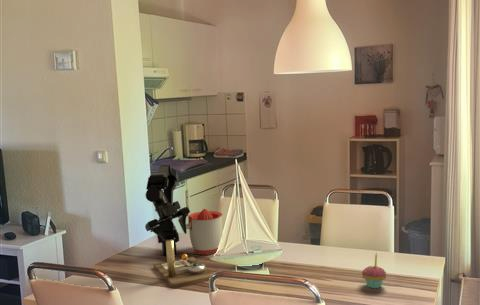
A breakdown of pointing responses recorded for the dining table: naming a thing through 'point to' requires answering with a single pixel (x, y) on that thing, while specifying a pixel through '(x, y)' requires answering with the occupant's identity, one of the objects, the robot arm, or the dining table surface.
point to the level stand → (182, 273)
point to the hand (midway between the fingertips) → (176, 237)
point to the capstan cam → (191, 268)
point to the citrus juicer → (205, 231)
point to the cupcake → (374, 275)
